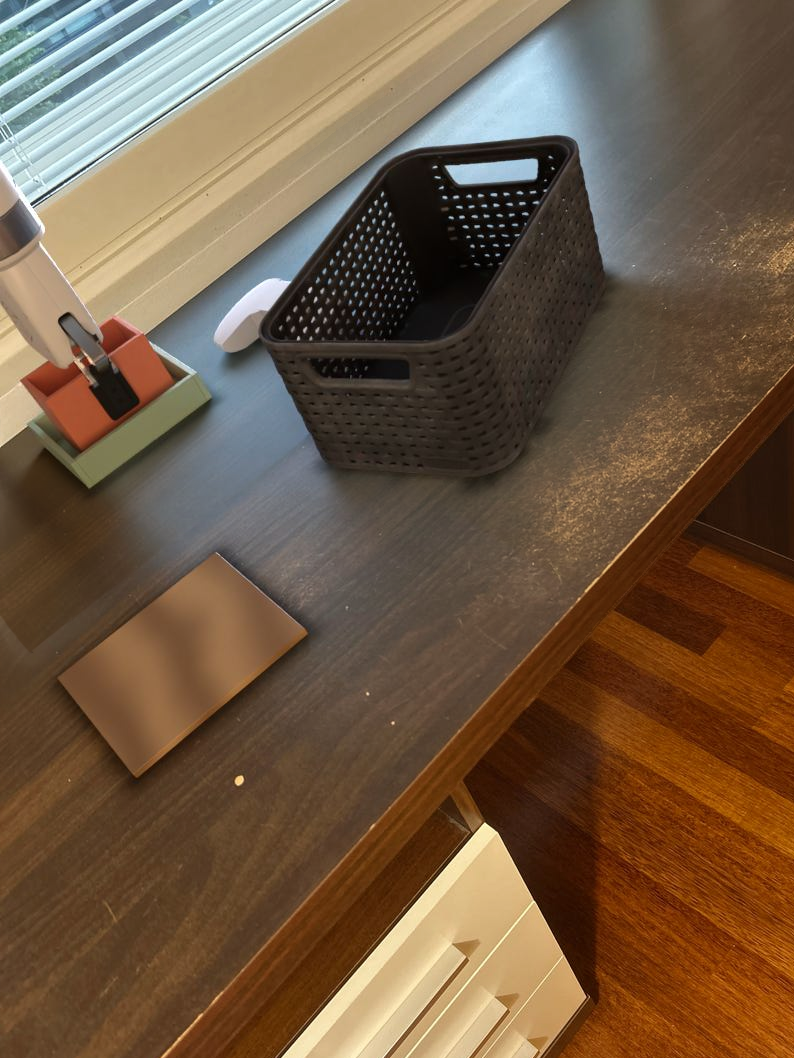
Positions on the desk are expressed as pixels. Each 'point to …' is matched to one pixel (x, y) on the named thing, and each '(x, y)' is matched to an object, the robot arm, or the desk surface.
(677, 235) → the desk surface
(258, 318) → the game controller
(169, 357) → the green bin
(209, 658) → the metal plate
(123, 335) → the coral bin
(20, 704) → the desk surface
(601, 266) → the storage bin
